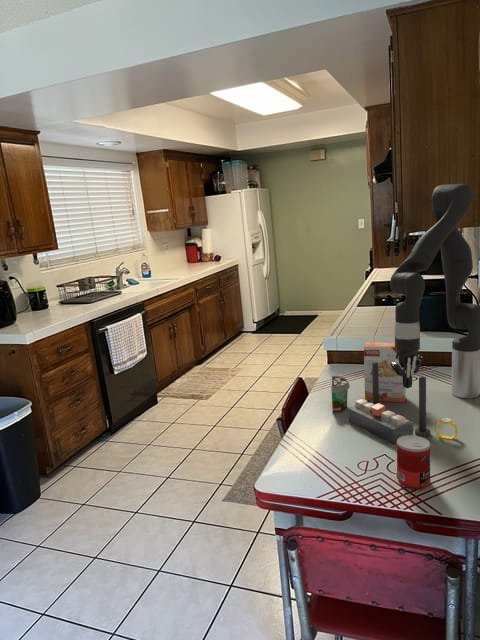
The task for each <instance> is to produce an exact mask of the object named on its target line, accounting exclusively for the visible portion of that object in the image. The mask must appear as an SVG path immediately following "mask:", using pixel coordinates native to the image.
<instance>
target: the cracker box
mask: <svg viewBox="0 0 480 640" xmlns="http://www.w3.org/2000/svg"><path fill="white" fill-rule="evenodd" d="M396 354H397V351H396V349H395V342H375V341H374V342H373V341H372V342H371V341H366V342H365V343H364V346H363V361H364V362H363V364H364V365H363V366H364V373H363V374H364V400H366V401H371V402H373V386H372V362H378V379H379V402H388V403H400V404H401V403H402V404H405V402H406V396H407V395H406V393H407V388H405V387H404V386H403V377H402V376H400V375H397V373H396V372H395V371H394V369H393V368H392V367H391V365H390V363H391V362H394V361H395V360H396Z"/></svg>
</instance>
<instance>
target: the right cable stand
mask: <svg viewBox="0 0 480 640" xmlns="http://www.w3.org/2000/svg"><path fill="white" fill-rule="evenodd" d="M414 436H419V437H422V438H429V437H430V436H431V430H430V429H429V428H428V427H427V378H426V377H425V376H424V377H423V376H422V377H421V376H419V378H418V427H416V428H415V429H414Z"/></svg>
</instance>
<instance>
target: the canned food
mask: <svg viewBox="0 0 480 640" xmlns="http://www.w3.org/2000/svg"><path fill="white" fill-rule="evenodd" d="M396 470H397V471H396V476H397V477H396V478H397V481H398V483H399V484H400V485H401V486H403V487H405V488H407V489H410V490H417V491H418V490H424V489H426V488H428V487H429V486H430V483H431V443H430V441H429V440H428V439H426V437H419V436H416V435H413V436H412V435H408V436H402V437H400V438H398V439H397V444H396Z"/></svg>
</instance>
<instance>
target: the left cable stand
mask: <svg viewBox="0 0 480 640" xmlns="http://www.w3.org/2000/svg"><path fill="white" fill-rule="evenodd" d="M372 386H373V401H372V403H373V404H375V405H376V404H377V403H379V404H380V401H379V379H378V362H372Z"/></svg>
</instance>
